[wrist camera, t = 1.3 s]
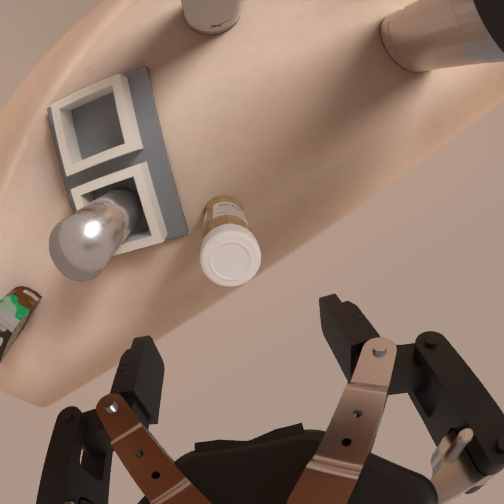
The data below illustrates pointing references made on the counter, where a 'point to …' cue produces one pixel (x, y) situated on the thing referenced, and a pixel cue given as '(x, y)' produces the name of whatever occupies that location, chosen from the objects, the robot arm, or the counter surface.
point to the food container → (15, 315)
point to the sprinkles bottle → (228, 244)
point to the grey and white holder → (118, 153)
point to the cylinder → (94, 233)
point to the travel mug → (211, 14)
